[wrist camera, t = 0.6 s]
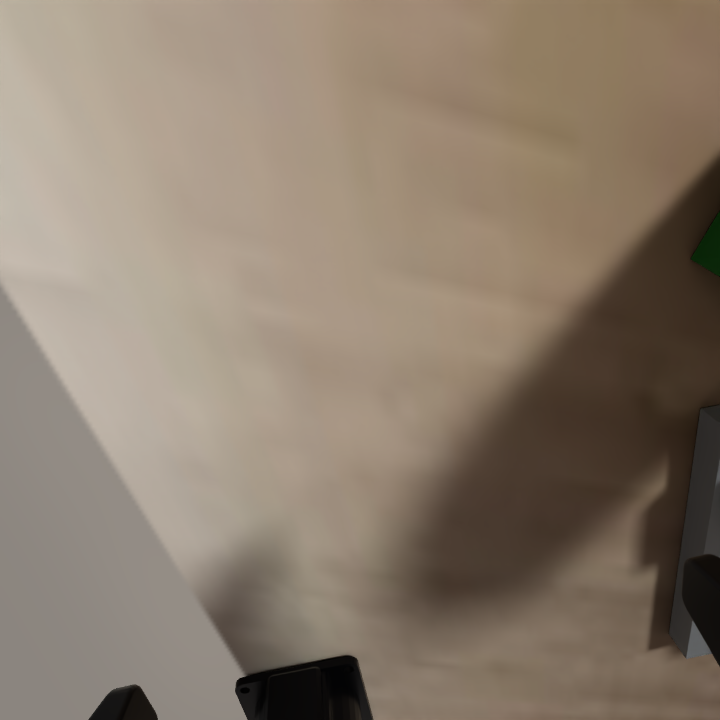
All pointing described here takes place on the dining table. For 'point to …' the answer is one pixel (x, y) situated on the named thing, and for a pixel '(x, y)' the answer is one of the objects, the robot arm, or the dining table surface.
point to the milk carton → (710, 248)
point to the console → (699, 525)
